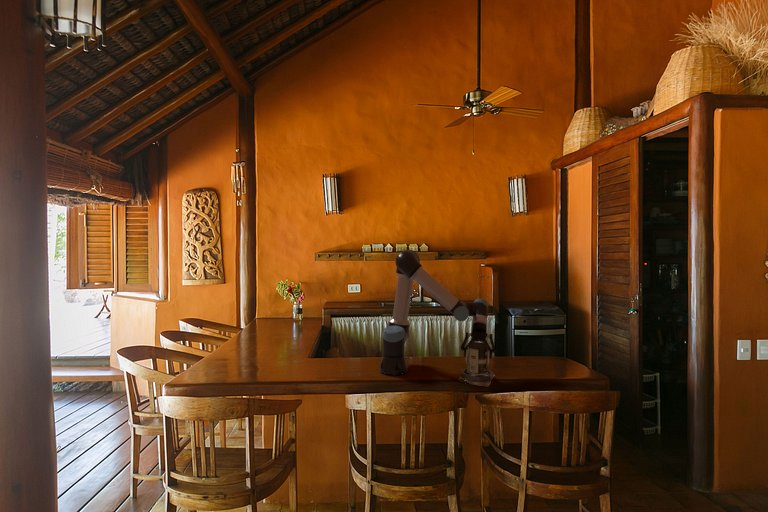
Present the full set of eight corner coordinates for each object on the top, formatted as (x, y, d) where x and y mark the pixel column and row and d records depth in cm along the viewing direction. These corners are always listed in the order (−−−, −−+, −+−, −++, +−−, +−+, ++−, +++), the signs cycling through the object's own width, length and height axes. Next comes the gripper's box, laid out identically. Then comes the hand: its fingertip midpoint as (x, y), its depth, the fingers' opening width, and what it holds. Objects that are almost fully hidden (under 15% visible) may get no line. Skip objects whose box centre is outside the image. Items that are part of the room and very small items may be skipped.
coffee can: (487, 369, 245) (488, 342, 244) (488, 376, 235) (488, 347, 234) (467, 368, 247) (467, 341, 246) (466, 374, 237) (467, 346, 236)
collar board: (458, 382, 238) (458, 374, 237) (466, 373, 251) (466, 366, 251) (488, 386, 231) (488, 378, 231) (495, 377, 245) (495, 370, 245)
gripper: (501, 330, 252) (500, 368, 238) (458, 328, 257) (455, 365, 243) (501, 322, 246) (500, 361, 232) (457, 320, 252) (453, 357, 238)
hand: (477, 363), depth 238 cm, fingers closed on coffee can, 10 cm apart
